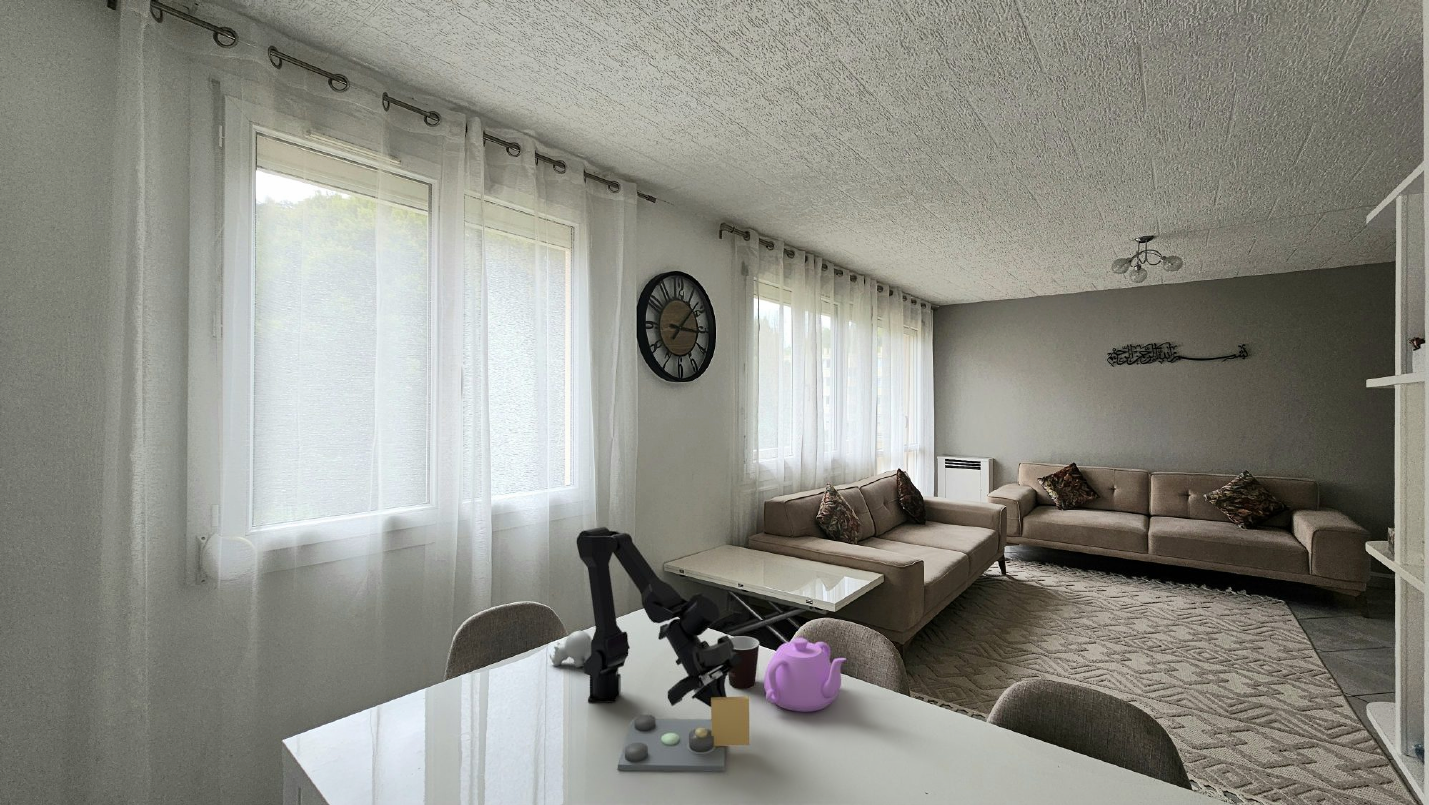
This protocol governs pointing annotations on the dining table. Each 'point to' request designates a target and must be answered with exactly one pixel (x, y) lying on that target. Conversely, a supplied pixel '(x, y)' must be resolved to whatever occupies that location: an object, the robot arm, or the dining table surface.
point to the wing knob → (723, 725)
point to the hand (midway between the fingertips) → (728, 716)
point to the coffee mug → (744, 662)
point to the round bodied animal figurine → (573, 649)
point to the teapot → (802, 676)
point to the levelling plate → (667, 746)
